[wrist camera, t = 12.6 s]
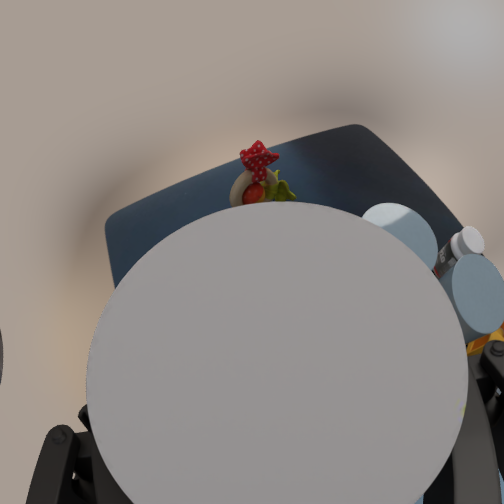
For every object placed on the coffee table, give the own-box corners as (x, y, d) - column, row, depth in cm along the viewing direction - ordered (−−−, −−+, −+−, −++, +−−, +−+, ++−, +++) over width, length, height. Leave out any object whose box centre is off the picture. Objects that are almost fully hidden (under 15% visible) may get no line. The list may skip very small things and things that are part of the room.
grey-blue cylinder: (437, 368, 26) (499, 347, 15) (390, 340, 28) (442, 309, 18) (456, 314, 28) (511, 277, 18) (413, 287, 31) (460, 239, 21)
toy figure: (485, 290, 30) (462, 356, 26) (506, 274, 25) (486, 346, 21) (505, 308, 28) (483, 375, 24) (526, 295, 23) (508, 367, 19)
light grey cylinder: (254, 474, 12) (212, 594, 2) (186, 368, 16) (51, 308, 5) (367, 403, 14) (511, 393, 3) (295, 303, 17) (319, 157, 7)
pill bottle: (436, 249, 34) (463, 216, 27) (459, 265, 32) (488, 235, 25) (427, 272, 33) (456, 241, 25) (451, 289, 31) (484, 262, 24)
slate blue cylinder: (377, 333, 29) (424, 297, 19) (321, 300, 32) (343, 250, 21) (401, 280, 32) (444, 229, 21) (350, 251, 35) (376, 189, 24)
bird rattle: (267, 237, 40) (307, 189, 39) (234, 211, 30) (287, 149, 29) (239, 213, 42) (277, 169, 42) (201, 183, 32) (249, 128, 31)
